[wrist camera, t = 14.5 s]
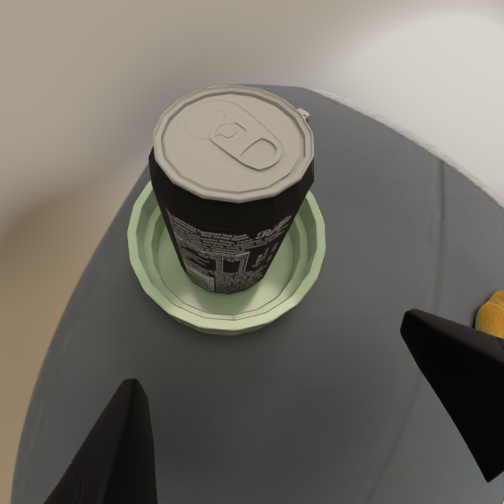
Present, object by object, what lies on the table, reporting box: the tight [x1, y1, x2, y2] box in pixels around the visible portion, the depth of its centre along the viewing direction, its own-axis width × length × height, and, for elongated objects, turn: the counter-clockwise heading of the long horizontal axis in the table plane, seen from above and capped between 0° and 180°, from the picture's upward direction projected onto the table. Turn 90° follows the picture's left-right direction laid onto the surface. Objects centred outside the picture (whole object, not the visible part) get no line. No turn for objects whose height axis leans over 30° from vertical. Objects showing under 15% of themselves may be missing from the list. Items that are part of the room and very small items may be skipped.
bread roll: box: [475, 290, 504, 339], centre depth 19 cm, size 8×9×4 cm
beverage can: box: [149, 85, 314, 295], centre depth 15 cm, size 7×7×12 cm
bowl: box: [127, 180, 326, 336], centre depth 19 cm, size 12×12×4 cm
